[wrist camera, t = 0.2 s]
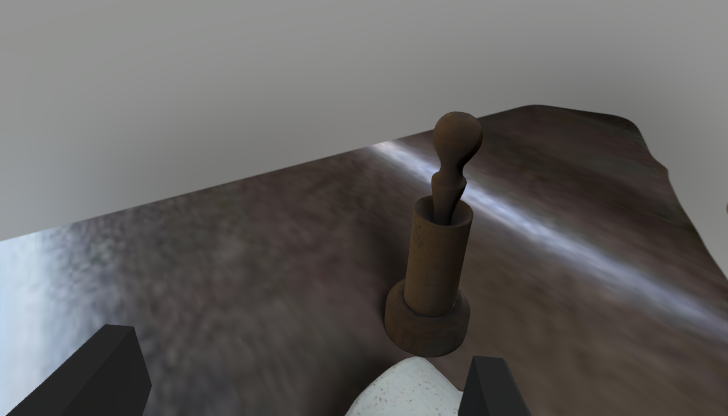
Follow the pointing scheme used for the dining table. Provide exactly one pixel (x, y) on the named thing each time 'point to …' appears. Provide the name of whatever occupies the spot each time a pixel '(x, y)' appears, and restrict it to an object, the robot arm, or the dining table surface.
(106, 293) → the dining table surface
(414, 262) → the mortar and pestle
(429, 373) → the ceramic mug
